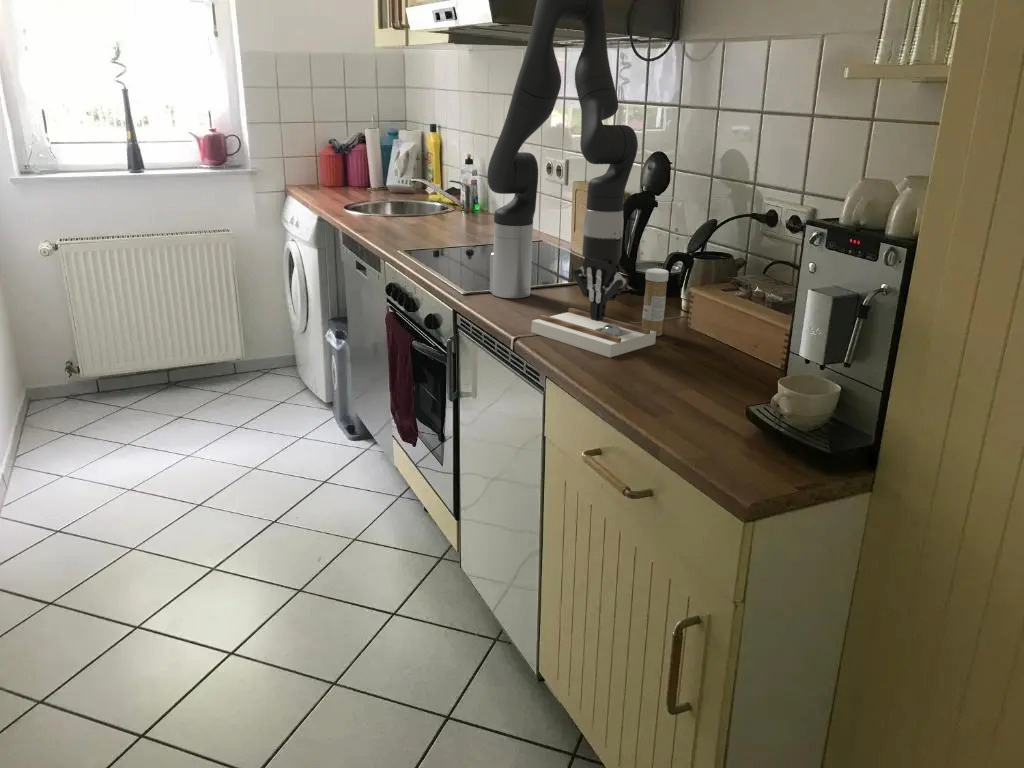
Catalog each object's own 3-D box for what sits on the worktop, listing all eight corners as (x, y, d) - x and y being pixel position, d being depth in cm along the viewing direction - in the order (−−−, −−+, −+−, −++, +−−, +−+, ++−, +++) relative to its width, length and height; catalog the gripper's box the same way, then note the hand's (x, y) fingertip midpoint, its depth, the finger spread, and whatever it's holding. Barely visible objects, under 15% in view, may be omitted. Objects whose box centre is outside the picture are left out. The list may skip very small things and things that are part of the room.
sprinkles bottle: (638, 330, 170) (643, 267, 166) (659, 330, 171) (665, 267, 166) (643, 337, 166) (649, 272, 161) (665, 337, 166) (671, 272, 162)
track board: (531, 332, 167) (531, 316, 166) (576, 321, 176) (577, 306, 175) (609, 357, 153) (611, 340, 151) (655, 343, 162) (656, 328, 161)
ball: (603, 321, 159) (616, 335, 157) (615, 318, 161) (628, 331, 160) (593, 336, 161) (606, 349, 159) (606, 332, 164) (619, 346, 162)
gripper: (564, 230, 158) (560, 316, 164) (617, 240, 149) (610, 330, 155) (590, 226, 163) (584, 310, 169) (642, 236, 154) (635, 324, 160)
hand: (597, 319), depth 162 cm, fingers closed
